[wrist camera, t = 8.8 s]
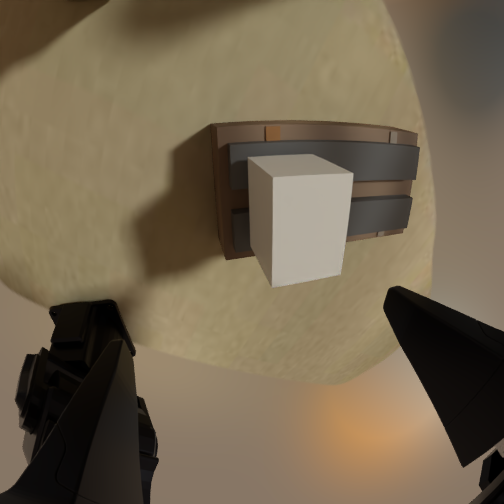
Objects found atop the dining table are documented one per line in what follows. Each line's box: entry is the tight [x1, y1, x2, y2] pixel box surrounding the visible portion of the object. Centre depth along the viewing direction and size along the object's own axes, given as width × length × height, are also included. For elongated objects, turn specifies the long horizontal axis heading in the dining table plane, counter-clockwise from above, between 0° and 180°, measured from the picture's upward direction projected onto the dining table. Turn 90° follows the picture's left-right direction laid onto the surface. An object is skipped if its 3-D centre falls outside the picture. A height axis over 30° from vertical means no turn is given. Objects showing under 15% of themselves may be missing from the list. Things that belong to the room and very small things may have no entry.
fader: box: [248, 154, 354, 288], centre depth 14 cm, size 4×5×5 cm
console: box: [211, 120, 420, 260], centre depth 18 cm, size 14×8×4 cm, turn 92°
